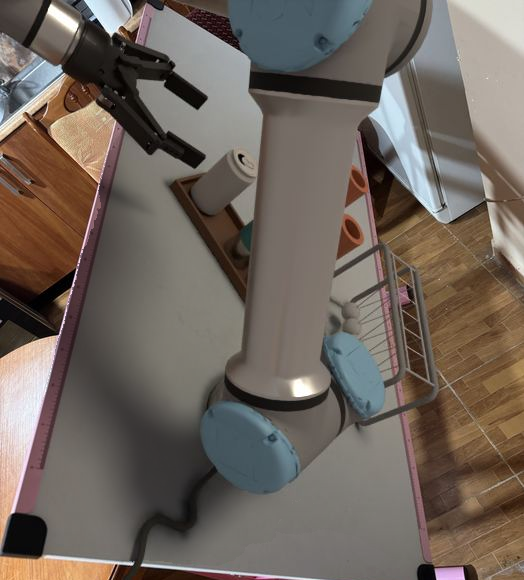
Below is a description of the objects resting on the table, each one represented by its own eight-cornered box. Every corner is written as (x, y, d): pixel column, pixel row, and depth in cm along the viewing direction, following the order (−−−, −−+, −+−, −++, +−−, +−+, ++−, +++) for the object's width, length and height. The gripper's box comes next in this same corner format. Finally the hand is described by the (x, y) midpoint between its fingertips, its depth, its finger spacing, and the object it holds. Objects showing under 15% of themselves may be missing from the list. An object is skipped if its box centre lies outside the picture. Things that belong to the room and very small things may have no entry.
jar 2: (314, 275, 116) (355, 248, 109) (296, 246, 115) (336, 217, 108) (328, 266, 121) (368, 240, 114) (310, 238, 121) (350, 210, 114)
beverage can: (188, 180, 99) (232, 137, 91) (217, 197, 103) (261, 157, 95) (187, 206, 96) (232, 164, 88) (217, 223, 99) (262, 184, 92)
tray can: (236, 273, 98) (284, 238, 90) (217, 244, 97) (264, 206, 90) (255, 264, 102) (301, 230, 95) (236, 236, 102) (282, 199, 94)
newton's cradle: (359, 430, 105) (442, 398, 94) (321, 412, 99) (404, 377, 88) (349, 302, 121) (418, 263, 110) (315, 281, 115) (385, 237, 104)
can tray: (255, 320, 97) (263, 315, 96) (169, 185, 95) (175, 179, 94) (284, 301, 105) (291, 296, 103) (204, 177, 103) (210, 171, 102)
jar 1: (323, 222, 128) (361, 194, 121) (307, 195, 127) (343, 167, 120) (335, 216, 133) (372, 189, 126) (320, 190, 133) (356, 163, 126)
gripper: (72, 12, 82) (190, 97, 95) (43, 123, 70) (183, 204, 82) (96, -30, 78) (217, 65, 90) (70, 81, 65) (215, 174, 77)
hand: (201, 131), depth 86 cm, fingers open, 13 cm apart
